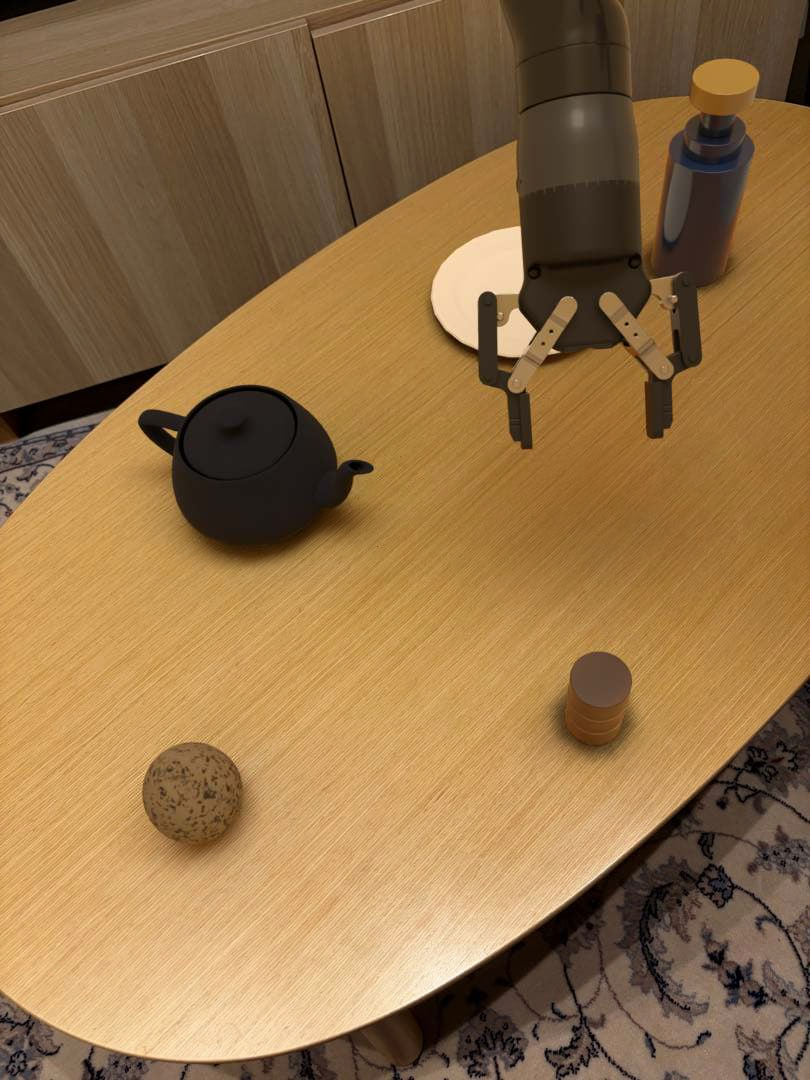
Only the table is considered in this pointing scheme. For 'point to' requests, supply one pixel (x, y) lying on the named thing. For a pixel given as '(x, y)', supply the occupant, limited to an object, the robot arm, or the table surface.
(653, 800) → the table surface
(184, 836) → the decorative egg
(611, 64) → the robot arm
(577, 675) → the brown ridged cylinder
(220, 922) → the table surface
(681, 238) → the bottle
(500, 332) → the plate
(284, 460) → the teapot
